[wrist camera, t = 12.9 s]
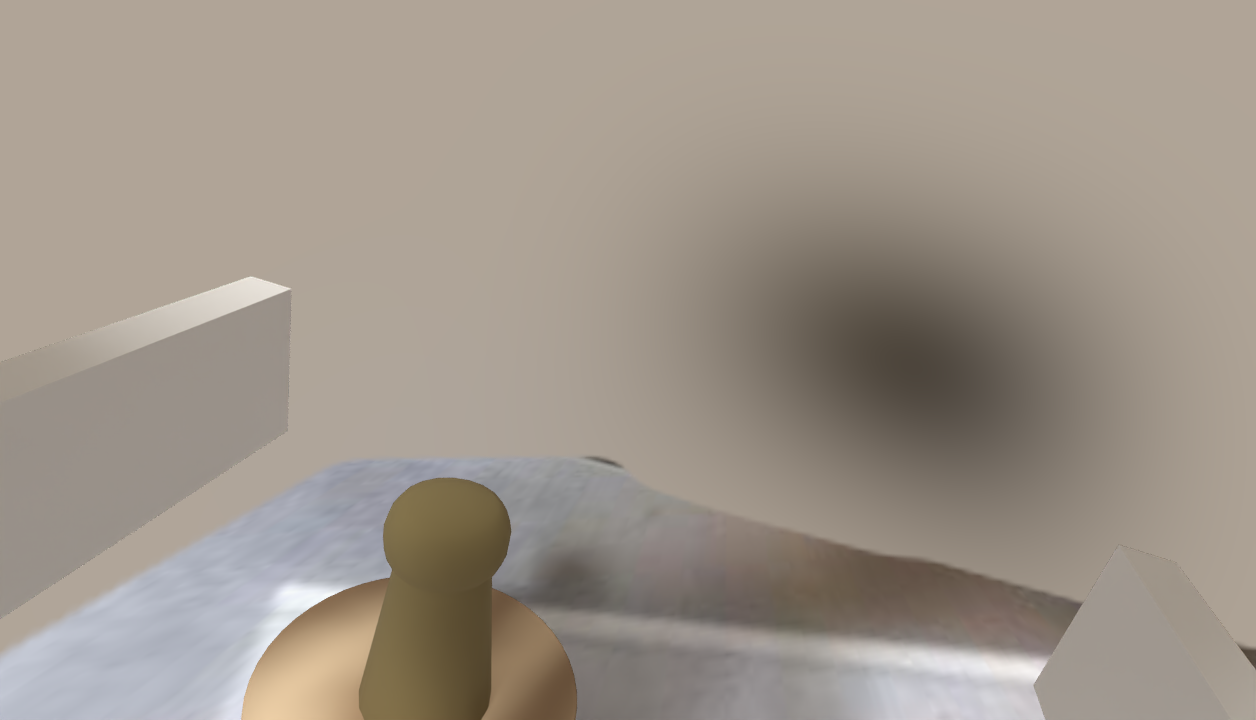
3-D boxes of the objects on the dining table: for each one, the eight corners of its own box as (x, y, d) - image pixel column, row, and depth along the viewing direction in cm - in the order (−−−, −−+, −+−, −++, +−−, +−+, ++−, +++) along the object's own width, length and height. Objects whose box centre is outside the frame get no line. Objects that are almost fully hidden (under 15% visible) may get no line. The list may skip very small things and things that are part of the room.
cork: (367, 640, 36) (384, 452, 32) (490, 642, 38) (523, 463, 33) (347, 750, 31) (364, 542, 26) (491, 747, 32) (530, 551, 28)
